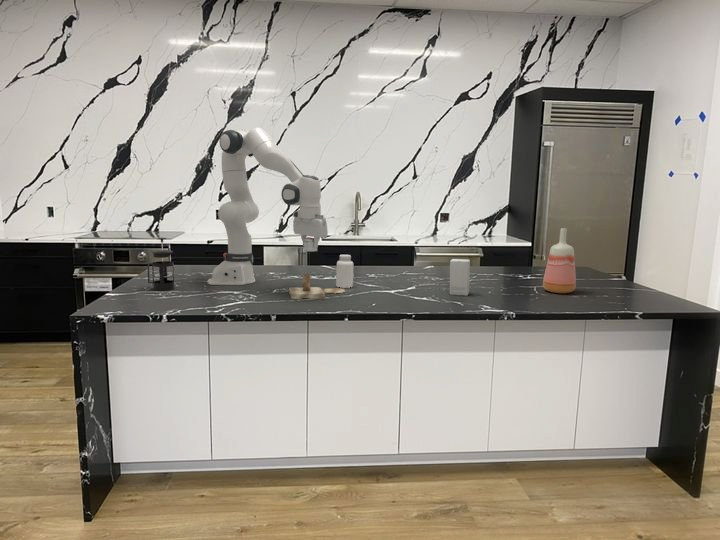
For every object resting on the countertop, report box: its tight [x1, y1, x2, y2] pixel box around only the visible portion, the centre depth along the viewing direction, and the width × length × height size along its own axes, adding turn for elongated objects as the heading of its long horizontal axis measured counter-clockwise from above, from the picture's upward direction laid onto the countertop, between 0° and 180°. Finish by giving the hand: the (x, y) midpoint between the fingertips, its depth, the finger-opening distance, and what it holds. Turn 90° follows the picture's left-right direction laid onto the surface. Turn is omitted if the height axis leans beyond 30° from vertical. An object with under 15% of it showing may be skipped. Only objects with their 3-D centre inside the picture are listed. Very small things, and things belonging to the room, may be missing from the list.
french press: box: [147, 237, 176, 292], centre depth 244 cm, size 12×9×23 cm
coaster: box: [322, 287, 346, 295], centre depth 247 cm, size 10×10×1 cm
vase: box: [542, 227, 577, 294], centre depth 254 cm, size 14×14×30 cm
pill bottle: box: [335, 254, 354, 289], centre depth 258 cm, size 8×8×15 cm
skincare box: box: [449, 258, 471, 296], centre depth 245 cm, size 8×7×16 cm
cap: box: [303, 236, 318, 252], centre depth 236 cm, size 6×6×6 cm
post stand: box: [288, 273, 326, 300], centre depth 238 cm, size 14×14×9 cm
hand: (310, 246), depth 236 cm, fingers closed on cap, 6 cm apart
